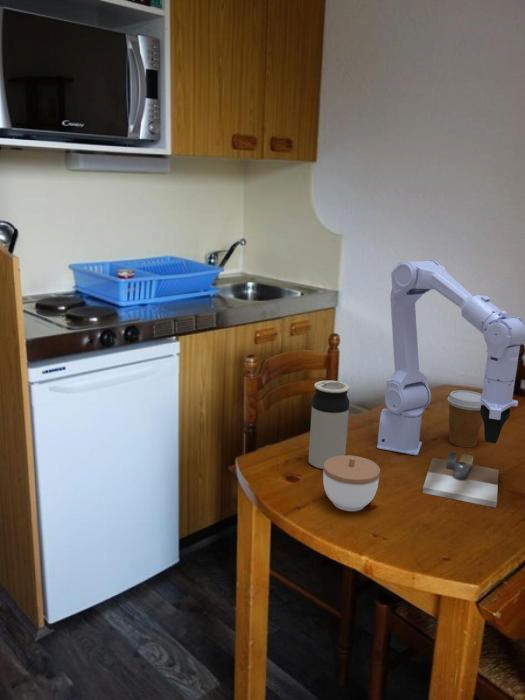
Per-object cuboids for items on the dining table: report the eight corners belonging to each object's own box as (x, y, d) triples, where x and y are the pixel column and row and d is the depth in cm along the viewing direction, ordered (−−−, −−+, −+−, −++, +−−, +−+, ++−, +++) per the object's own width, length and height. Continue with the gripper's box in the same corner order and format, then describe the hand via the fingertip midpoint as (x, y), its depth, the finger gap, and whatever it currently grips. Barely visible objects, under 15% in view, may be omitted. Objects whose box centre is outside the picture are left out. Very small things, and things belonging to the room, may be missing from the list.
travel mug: (351, 463, 137) (358, 386, 132) (329, 474, 131) (335, 393, 126) (323, 452, 142) (328, 377, 137) (300, 462, 136) (305, 384, 132)
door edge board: (422, 492, 124) (423, 487, 124) (431, 462, 139) (432, 457, 139) (496, 507, 119) (496, 502, 119) (497, 474, 134) (498, 469, 134)
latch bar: (465, 480, 127) (467, 468, 126) (451, 476, 128) (453, 465, 128) (473, 464, 135) (475, 453, 134) (460, 461, 136) (462, 450, 135)
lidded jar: (309, 497, 121) (312, 452, 118) (353, 486, 126) (357, 443, 124) (342, 522, 112) (346, 475, 109) (388, 510, 117) (393, 464, 115)
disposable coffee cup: (477, 453, 145) (484, 405, 142) (437, 443, 150) (443, 396, 147) (487, 440, 153) (493, 394, 150) (448, 432, 158) (454, 387, 155)
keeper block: (446, 468, 133) (447, 458, 133) (448, 461, 137) (449, 451, 136) (453, 470, 133) (455, 459, 132) (455, 462, 137) (456, 452, 136)
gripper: (521, 390, 115) (511, 458, 118) (520, 371, 128) (511, 433, 131) (481, 385, 117) (472, 451, 121) (485, 367, 130) (476, 427, 134)
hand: (490, 441), depth 126 cm, fingers closed
